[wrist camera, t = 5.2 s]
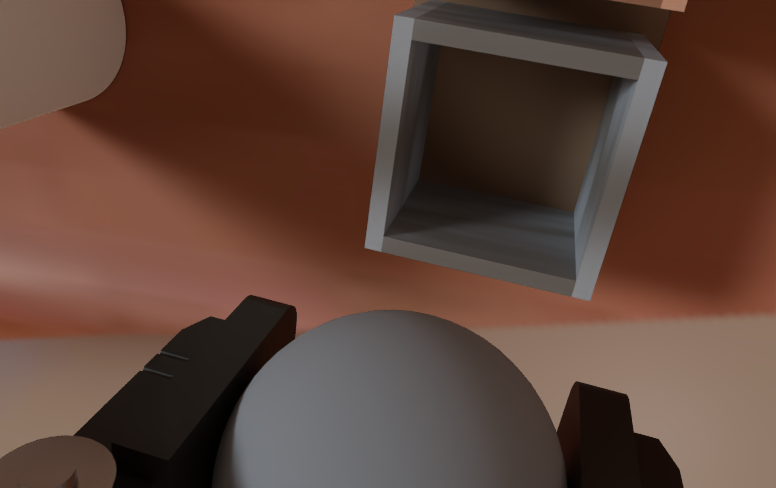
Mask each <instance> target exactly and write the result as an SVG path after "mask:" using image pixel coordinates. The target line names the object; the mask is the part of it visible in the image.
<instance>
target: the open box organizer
mask: <svg viewBox="0 0 776 488" xmlns="http://www.w3.org/2000/svg"><path fill="white" fill-rule="evenodd" d="M687 1H688V0H415V3H414V7H413V8H410V9H408V10H406V11H403V12H401V13H398V14H396V15H394V22H393V30H392V38H391V46H390V53H389V61H388V69H387V77H386V85H385V92H384V100H383V108H382V116H381V123H380V131H379V139H378V147H377V155H376V162H375V170H374V178H373V186H372V194H371V201H370V209H369V217H368V225H367V232H366V240H365V248H367V249H371V250H375V251H380V252H384V253H388V254H392V255H397V256H401V257H405V258H409V259H414V260H418V261H422V262H426V263H431V264H435V265H439V266H443V267H448V268H452V269H456V270H460V271H464V272H469V273H473V274H477V275H481V276H486V277H490V278H494V279H498V280H503V281H507V282H511V283H515V284H520V285H524V286H528V287H532V288H537V289H541V290H545V291H549V292H554V293H558V294H562V295H566V296H571V297H575V298H579V299H583V300H588V301H590V299H591V296H592V293H593V290H594V287H595V284H596V281H597V278H598V275H599V272H600V269H601V266H602V263H603V259H604V256H605V253H606V250H607V247H608V244H609V241H610V238H611V235H612V232H613V229H614V226H615V223H616V219H617V216H618V213H619V210H620V207H621V204H622V201H623V198H624V195H625V192H626V189H627V186H628V183H629V179H630V176H631V173H632V170H633V167H634V164H635V161H636V158H637V155H638V152H639V149H640V146H641V143H642V139H643V136H644V133H645V130H646V127H647V124H648V121H649V118H650V115H651V112H652V109H653V106H654V103H655V99H656V96H657V93H658V90H659V87H660V84H661V81H662V78H663V75H664V72H665V69H666V66H667V63H668V62H667V61H666V60H665V59H664V58H663V56H662V55H661V54H660V53H659V52H658V50H659V47H660V44H661V41H662V38H663V34H664V31H665V28H666V25H667V22H668V19H669V15H670V12H671V10H674V11H681V12H684V10H685V7H686V4H687Z"/></svg>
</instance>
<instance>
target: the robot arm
mask: <svg viewBox="0 0 776 488" xmlns="http://www.w3.org/2000/svg"><path fill="white" fill-rule="evenodd" d="M296 322H297V312H296V308H295V307H294V306H291V305H288V304H284V303H280V302H276V301H272V300H269V299H265V298H261V297H257V296H253V295H249V296H248V297H246V298H245V299H244V300H243V301H242V302H241V303H240V305H239V306H238V307H237V308H236V309H235V310H234V311H233V312H232V313H231V314H230V315H229V316H228V317H227V318H226V320H222V319H219V318H215V317H211V316H210V317H208V318H206V319H204V320H202V321H200V322H197V323H195V324H193V325H191V326H189V327H187V328H185V329H183V330H181V331H180V332H179V333H178V334H177V335H176V336H175V337H174V338H173V339H172V340H171V341H170V342H169V343H168V344H167V345H166V346H165V347H164V348H163V349H162V350H161V353H160V354H157V355H156V356H154V357H153V359H151V360H150V361H149V362H148V363H147V364H146V365H145V366H144V370H143V371H139V372H138V373H137V374H136V375H135V376H134V377H133V378H132V379H131V380H130V381H129V382H128V383H127V384H126V385H125V386H124V387H123V388H122V389H121V390H120V391H119V392H118V393H117V394H116V395H114V396H113V397H112V399H110V400H109V401H108V402H107V403H106V404H105V405H104V406H103V407H102V408H101V409H100V410H99V411H98V412H97V413H96V414H95V415H94V416H93V417H92V418H91V419H90V420H89V421H88V422H87V423H86V424H85V425H84V426H83V427H82V428H81V429H80V430H79V431H78V432H77V433H76V434H75V435H73V436H55V437H48V438H44V439H39V440H36V441H33V442H30V443H27V444H25V445H23V446H21V447H18V448H17V449H15V450H13V451H11V452H9V453H8V454H6V455H5V456H3V457H2V458H1V459H0V488H212V478H213V469H214V465H215V460H216V455H217V451H218V447H219V444H220V441H221V437H222V434H223V432H224V429H225V427H226V424H227V422H228V419H229V417H230V415H231V413H232V411H233V409H234V407H235V405H236V403H237V401H238V400H239V398H240V397H241V395H242V393H243V392H244V390H245V388H246V387H247V386H248V384H249V383H250V382H251V380H252V379H253V378H254V376H255V375H256V374H257V373H258V372H259V371H260V370H261V368H262V367H263V366H264V365H265V364H266V363H267V362H268V361H269V360H270V359H271V358H272V357H273V356H274V355H275V354H276V353H277V352H279V351H280V350H281V349H282V348H284V347H285V346H286V345H288V344H289V343H290V342H292V341H293V340H295V333H296ZM557 436H558V439H559V442H560V446H561V450H562V453H563V457H564V461H565V465H566V475H567V485H568V488H683V483H682V478H681V474H680V470H679V468H678V467H677V465H676V464H675V462H674V461H673V459H672V458H671V456H670V455H669V454H668V452H667V451H666V449H665V448H664V446H663V445H662V443H661V442H660V441H659V439H656V438H653V437H649V436H645V435H642V434H638V433H634V431H633V424H632V417H631V410H630V403H629V398H628V396H627V395H626V394H623V393H619V392H615V391H611V390H608V389H604V388H600V387H596V386H593V385H589V384H585V383H581V382H575V383H574V385H573V387H572V389H571V391H570V394H569V397H568V400H567V403H566V406H565V409H564V412H563V415H562V418H561V421H560V424H559V427H558V430H557Z"/></svg>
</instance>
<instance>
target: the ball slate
mask: <svg viewBox="0 0 776 488" xmlns="http://www.w3.org/2000/svg"><path fill="white" fill-rule="evenodd" d="M212 488H568V485H567V475H566V465H565V461H564V457H563V453H562V450H561V446H560V442H559V439H558V436H557V432H556V429H555V427H554V425H553V423H552V421H551V418H550V416H549V413H548V411H547V410H546V408H545V406H544V404H543V402H542V400H541V399H540V397H539V396H538V394H537V393H536V391H535V389H534V388H533V386H532V384H531V383H530V382H529V381H528V380H527V378H526V377H525V376H524V375H523V374H522V372H521V371H520V370H519V369H518V368H517V367H516V366H515V365H514V364H513V363H512V362H511V361H510V360H509V359H508V358H507V357H506V356H505V355H504V354H503V353H502V352H501V351H500V350H499V349H497V348H496V347H495V346H493V345H492V344H491V343H489V342H488V341H487V340H485V339H484V338H482V337H481V336H479V335H477V334H475V333H474V332H472V331H470V330H469V329H467V328H464V327H462V326H460V325H458V324H455V323H453V322H451V321H448V320H445V319H442V318H439V317H436V316H432V315H429V314H423V313H418V312H413V311H403V310H375V311H369V312H363V313H357V314H351V315H347V316H344V317H340V318H337V319H334V320H331V321H329V322H327V323H324V324H322V325H320V326H318V327H316V328H314V329H312V330H310V331H308V332H305V333H304V334H302V335H301V336H299V337H298V338H296V339H295V340H293V341H292V342H290V343H289V344H288V345H286V346H285V347H284V348H282V349H281V350H280V351H279V352H277V353H276V354H275V355H274V356H273V357H272V358H271V359H270V360H269V361H268V362H267V363H266V364H265V365H264V366H263V367H262V368H261V370H260V371H259V372H258V373H257V374H256V375H255V376H254V378H253V379H252V380H251V382H250V383H249V384H248V386H247V387H246V388H245V390H244V392H243V393H242V395H241V397H240V398H239V400H238V401H237V403H236V405H235V407H234V409H233V411H232V413H231V415H230V417H229V419H228V422H227V424H226V427H225V429H224V432H223V434H222V437H221V441H220V444H219V447H218V451H217V455H216V460H215V465H214V469H213V478H212Z"/></svg>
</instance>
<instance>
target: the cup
mask: <svg viewBox="0 0 776 488" xmlns="http://www.w3.org/2000/svg"><path fill="white" fill-rule="evenodd" d="M125 45H126V24H125V16H124V11H123V6H122V3H121V0H0V129H2V128H5V127H8V126H11V125H14V124H18V123H21V122H24V121H27V120H30V119H33V118H36V117H39V116H42V115H45V114H48V113H51V112H54V111H57V110H60V109H63V108H66V107H69V106H72V105H76V104H79V103H82V102H85V101H87V100H90V99H92V98H94V97H96V96H97V95H99V94H100V93H102V92H103V91H104V90H105V89H106V88H107V87H108V86H109V85H110V84H111V83H112V81H113V80H114V78H115V77H116V75H117V73H118V71H119V69H120V66H121V63H122V60H123V56H124V52H125Z"/></svg>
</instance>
